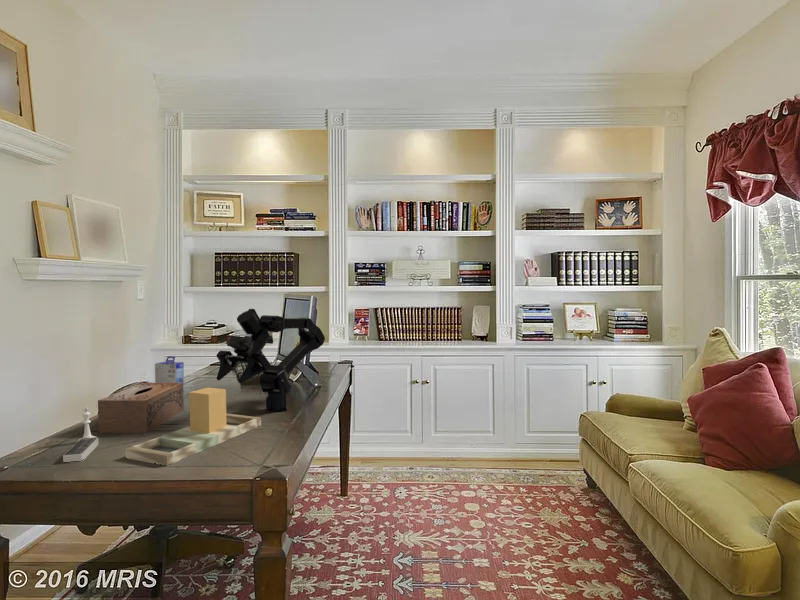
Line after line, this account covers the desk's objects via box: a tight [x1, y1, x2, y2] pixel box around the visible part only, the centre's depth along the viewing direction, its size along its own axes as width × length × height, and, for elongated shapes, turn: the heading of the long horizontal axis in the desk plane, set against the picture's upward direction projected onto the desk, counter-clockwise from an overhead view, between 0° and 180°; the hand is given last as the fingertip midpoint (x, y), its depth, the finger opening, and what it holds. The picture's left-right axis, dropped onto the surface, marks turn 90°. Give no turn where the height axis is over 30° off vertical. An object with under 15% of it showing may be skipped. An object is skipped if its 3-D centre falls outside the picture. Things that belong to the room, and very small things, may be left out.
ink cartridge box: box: [154, 356, 185, 392], centre depth 209 cm, size 10×6×14 cm, turn 78°
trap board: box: [125, 413, 262, 466], centre depth 148 cm, size 37×14×2 cm, turn 158°
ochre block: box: [188, 387, 227, 433], centre depth 151 cm, size 7×7×11 cm
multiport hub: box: [62, 436, 99, 463], centre depth 138 cm, size 4×14×2 cm, turn 15°
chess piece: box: [77, 406, 97, 442], centre depth 147 cm, size 5×5×10 cm
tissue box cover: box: [97, 382, 185, 434], centre depth 169 cm, size 26×14×10 cm, turn 179°
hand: (228, 380), depth 161 cm, fingers open, 9 cm apart
